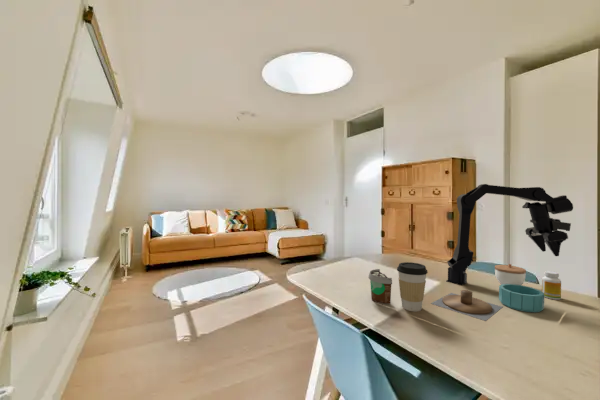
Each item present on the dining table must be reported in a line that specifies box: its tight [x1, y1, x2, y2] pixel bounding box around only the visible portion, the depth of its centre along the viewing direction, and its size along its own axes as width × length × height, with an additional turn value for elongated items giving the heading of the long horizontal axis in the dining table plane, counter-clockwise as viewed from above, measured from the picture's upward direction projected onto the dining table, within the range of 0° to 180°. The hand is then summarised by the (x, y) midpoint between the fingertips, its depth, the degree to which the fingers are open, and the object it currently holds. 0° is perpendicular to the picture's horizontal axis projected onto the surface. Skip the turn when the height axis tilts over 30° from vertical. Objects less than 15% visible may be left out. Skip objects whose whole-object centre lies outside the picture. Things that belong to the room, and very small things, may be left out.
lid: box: [441, 289, 492, 314], centre depth 95 cm, size 15×15×5 cm
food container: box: [368, 268, 393, 305], centre depth 101 cm, size 12×6×10 cm, turn 5°
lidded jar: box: [494, 263, 527, 285], centre depth 117 cm, size 11×11×9 cm
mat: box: [430, 292, 503, 322], centre depth 95 cm, size 17×17×1 cm
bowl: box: [498, 283, 545, 313], centre depth 95 cm, size 12×12×6 cm
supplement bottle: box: [541, 270, 562, 301], centre depth 104 cm, size 5×5×10 cm
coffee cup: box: [396, 261, 429, 312], centre depth 93 cm, size 10×10×15 cm
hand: (550, 253), depth 111 cm, fingers open, 9 cm apart
